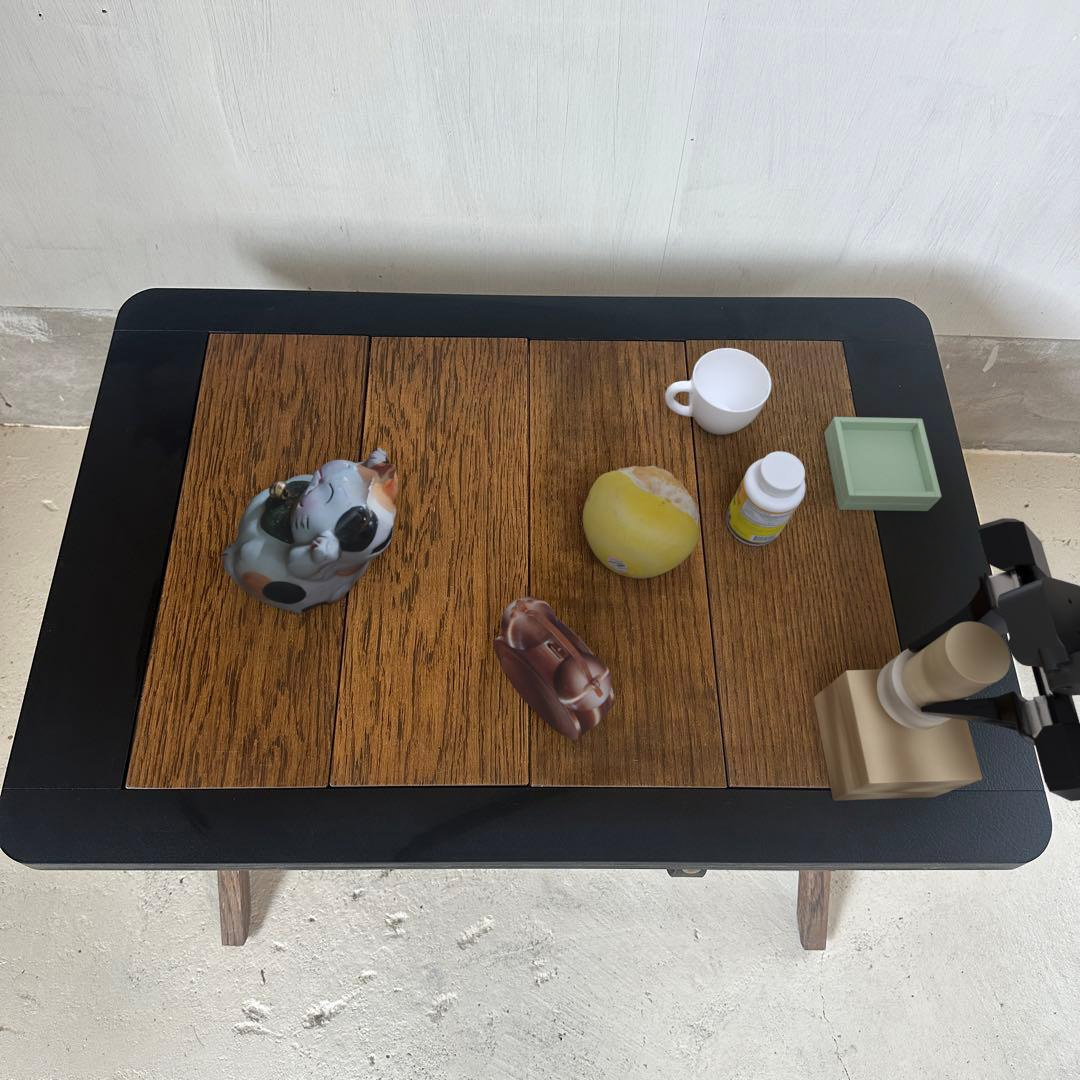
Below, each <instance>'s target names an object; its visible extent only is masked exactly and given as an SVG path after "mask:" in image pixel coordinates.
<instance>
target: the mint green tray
mask: <svg viewBox="0 0 1080 1080" xmlns="http://www.w3.org/2000/svg"><path fill="white" fill-rule="evenodd" d="M823 434H824V440H825V445H826V451H827V456H828V461H829V466H830V472H831V478H832V484H833V488H834V493H835V498H836V505H837V510H839V511H891V512H892V511H893V512H895V511H896V512H897V511H899V512H929V510H931V508H932V507H933V506H935V504H936V503H938V502H939V500H940V499H941V498H942V493H941V489H940V485H939V481H938V477H937V471H936V468H935V464H934V461H933V456H932V453H931V448H930V444H929V440H928V436H927V431H926V429H925V424H924V420H923V418H916V417H915V418H914V417H913V418H911V417H910V418H909V417H865V416H864V417H863V416H861V417H860V416H855V417H854V416H833V418H832V419H831V420H830V423H829V424H828V426H827V428H826V429H825V431H824V433H823Z"/></svg>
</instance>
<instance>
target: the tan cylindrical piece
mask: <svg viewBox="0 0 1080 1080" xmlns="http://www.w3.org/2000/svg"><path fill="white" fill-rule="evenodd" d="M1010 666H1011V651H1010V649H1009V646H1008V645H1007V643H1006V641H1005V640H1004V638H1003V637H1002V635H999V634H998V633H997V632H996V631H995V630H993V629H992V628H990V627H988V626H986V625H984V624H982V623H978V622H963V623H959V624H957V625H956V626H954V627H953V628H951V629H950V630H948V631H947V632H946V633H944V634H943V635H942V636H940V637H939V638H938V639H936V640H935V641H933V642H932V643H931V644H929V645H928V646H927V647H925V648H924V649H922V650H921V651H920V652H918V653H912V652H911V651H909V650H908V648H906V649H905V650H903V651H902V652H901V653H899V654H898V655H896V656H895V657H894V658H892V659H891V660H890V661H888V663H886V664H885V665H884V666H883V667H882V668H881V669H882V670H881V672H880V674H879V676H878V680H877V693H878V697H879V700H880V702H881V704H882V706H883V708H884V709H885V711H886V712H887V713H888V714H889V715H890V716H891V717H892V718H893V719H894V720H895V721H897V722H898V723H900V724H901V725H903V726H906V727H908V728H912V729H916V730H927V729H931V728H934V727H936V726H938V725H940V724H942V723H944V722H946V721H948V720H950V719H952V718H947V717H940V716H933V715H927V714H924V713H922V712H921V707H922V706H926V705H930V704H934V703H939V702H948V701H959V700H969V698H970V697H972V696H973V695H976V694H977V693H979V692H981V691H982V690H984V689H986V688H988V687H990V686H991V685H993V684H995V683H997V682H999V681H1000V680H1002V679H1003V678H1004V677H1006V675H1007V673H1008V672H1009V670H1010Z"/></svg>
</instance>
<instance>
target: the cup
mask: <svg viewBox="0 0 1080 1080" xmlns="http://www.w3.org/2000/svg"><path fill="white" fill-rule="evenodd" d="M771 392H772V378H771V374H770V373H769V370H768V369H767V367H766V365H765V364H764V363H763V362H762V361H761V360H760V359H758V358H757V357H756V356H755V355H753V354H752V353H749V352H747V351H745V350H741V349H739V348H733V347H732V348H731V347H722V348H717V349H714V350H711V351H709V352H708V351H707V352H706V353H705V354H703V355H702V356H701V357H700V358H699V359H698V360H697V361H696V363H695V365H694V367H693V371H692V374H691V377H690V380H679V381H675V382H673V383H671V384H670V385H669V386H668V387H667V389H666V390H665V392H664V402H665V404H666V406H667V407H668V408H669V410H671V411H673V412H674V413H675V414H677V415H680V416H682V417H689V418H691V417H692V418H693V419H694V420H695V422H696V423H697V425H698V426H699V427H700V428H701V429H702V430H703V431H705V432H707V433H709V434H711V435H715V436H717V435H718V436H724V435H730V434H735V433H736V432H739V431H740V430H742V429H743V430H744V428H746V427H747V426H749V425H750V424H751V423H752V422H753V421H754V420H755V419H757V417H758V416H759V415H760V413H761V411H762V410H763V408H764V407H765V405H766V403H767V401H768V398H769V396H770V394H771ZM678 393H687V398H688V399H687V400H688V405H683V404H681V403H679V402H678V401H677V400H675V396H676V395H677V394H678Z"/></svg>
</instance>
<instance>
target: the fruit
mask: <svg viewBox="0 0 1080 1080" xmlns="http://www.w3.org/2000/svg"><path fill="white" fill-rule="evenodd" d="M699 520H700V512H699V509H698V505H697V504H696V501H695V499H694V498H693V497H692V496H691V494H689V492H688V489H687V488H686V487H685V485H684V484H683V483H682V482H680V481H679V479H677V478H675V476H674V475H673V474H672V472H670V471H668V470H666V469H664V468H660V467H658V466H657V465H647V466H638V465H632V466H628V467H622V468H621V467H618V469H616V470H611V471H609V472H605V473H603V474H600V475H599V477H598V478H596V480H595V481H594V483H593V484H592V487H591V488H590V490H589V492H588V494H587V497H586V500H585V502H584V506H583V510H582V525H583V530H584V534H585V537H586V539H587V543H588V545H589V547H590V549H591V550H592V552H593V554H594V556H595V557H596V558H597V559H598V560H599V562H601V564H603V565H604V566H605V567H606V568H608V570H610V571H611V572H613V573H615V574H618V575H621V576H623V577H627V578H631V579H650V578H655V577H658V576H661V575H664V574H665V573H667V572H669V571H671V570H673V569H674V568H676V567H678V566H679V565H680V564H682V563H683V562H684V561H686V559H687V558H688V557H689V556H690V555H691V553H692V552H693V551H694V550H695V548H696V546H697V544H698V542H699V539H700V533H701V531H700V526H699V522H700V521H699Z"/></svg>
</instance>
